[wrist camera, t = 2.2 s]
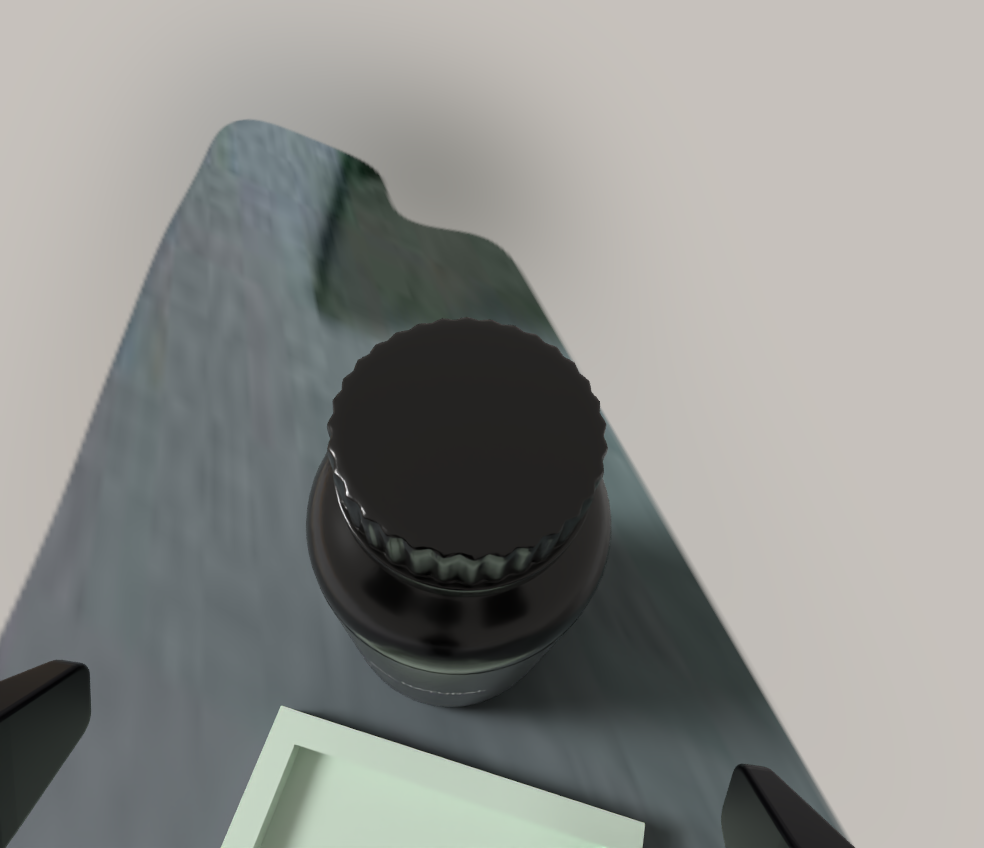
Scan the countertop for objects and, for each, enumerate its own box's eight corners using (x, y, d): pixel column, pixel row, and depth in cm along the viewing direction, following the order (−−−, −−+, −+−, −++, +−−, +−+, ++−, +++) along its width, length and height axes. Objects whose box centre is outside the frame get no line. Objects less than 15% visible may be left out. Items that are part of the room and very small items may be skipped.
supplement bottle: (388, 749, 17) (304, 718, 7) (331, 546, 21) (215, 323, 10) (588, 659, 19) (748, 531, 9) (507, 484, 22) (557, 240, 12)
